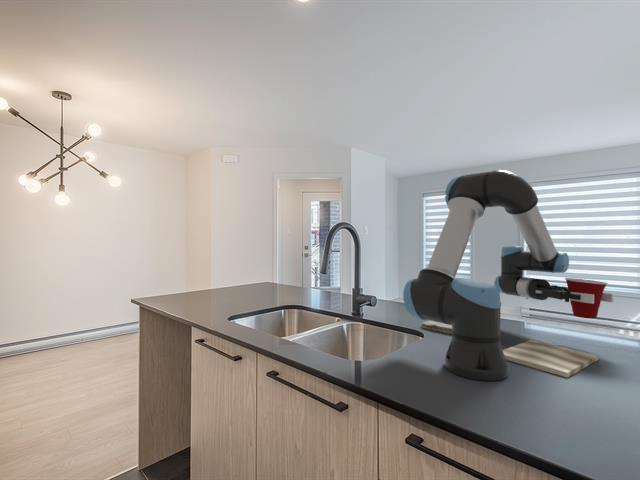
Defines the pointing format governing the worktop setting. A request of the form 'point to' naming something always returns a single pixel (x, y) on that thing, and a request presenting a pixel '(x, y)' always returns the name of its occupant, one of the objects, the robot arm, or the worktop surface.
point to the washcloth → (437, 327)
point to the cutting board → (549, 357)
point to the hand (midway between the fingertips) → (602, 298)
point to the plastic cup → (589, 288)
